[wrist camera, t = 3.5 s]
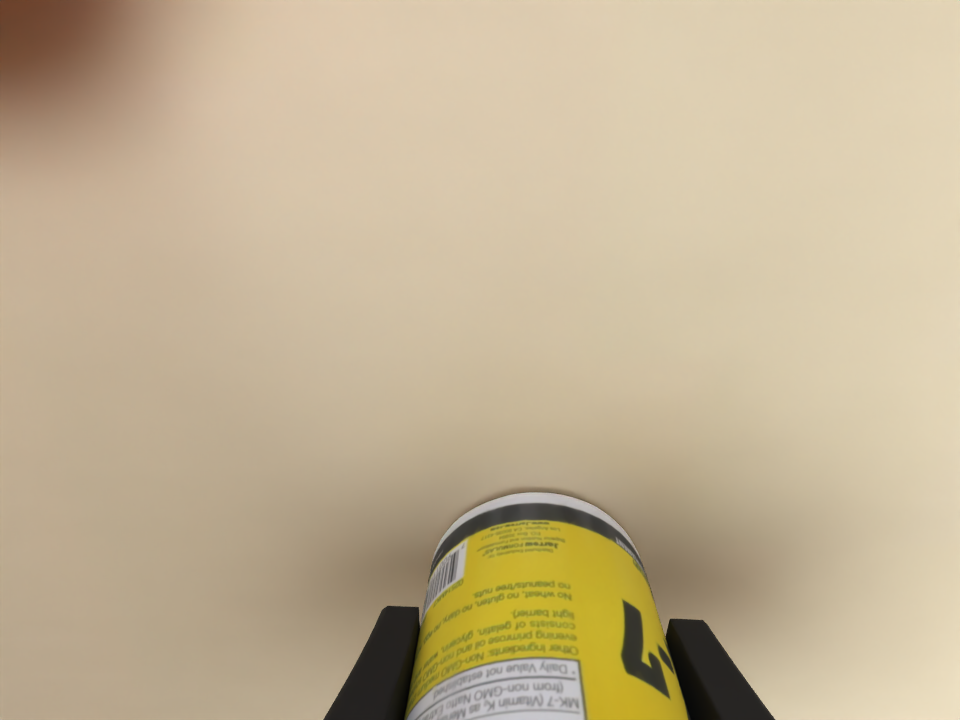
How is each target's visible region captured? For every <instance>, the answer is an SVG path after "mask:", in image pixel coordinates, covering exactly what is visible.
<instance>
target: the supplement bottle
mask: <svg viewBox="0 0 960 720" xmlns="http://www.w3.org/2000/svg"><path fill="white" fill-rule="evenodd" d="M404 720H691V718H690V715H689V712H688V710H687V706H686V703H685V699H684V696H683V693H682V690H681V687H680V684H679V680H678V676H677V672H676V669H675V666H674V663H673V660H672V657H671V653H670V650H669V648H668V645H667V641H666V638H665V635H664V632H663V629H662V625H661V622H660V619H659V616H658V612H657V609H656V606H655V603H654V599H653V595H652V591H651V588H650V585H649V582H648V579H647V576H646V573H645V570H644V567H643V565H642V562H641V559H640V556H639V554H638V552H637V549H636V547H635V546H634V544H633V542H632V541H631V539H630V537H629V536H628V534H627V533H626V532H625V531H624V530H623V528H622V527H621V526H620V525H619V524H618V523H617V522H616V521H615V520H614V519H613V518H612V517H610V516H609V515H607V514H606V513H605V512H603V511H602V510H600V509H599V508H597V507H595V506H593V505H591V504H589V503H587V502H585V501H582V500H579V499H577V498H573V497H569V496H566V495H560V494H554V493H544V492H527V493H519V494H512V495H508V496H504V497H500V498H497V499H494V500H491V501H489V502H486V503H484V504H482V505H479V506H477V507H476V508H474V509H472V510H470V511H468V512H467V513H465V514H464V515H463V516H461V517H460V518H459V519H457V520H456V521H455V522H454V523H453V525H452V526H451V527H450V528H449V529H448V530H447V531H446V532H445V534H444V535H443V537H442V539H441V540H440V542H439V544H438V546H437V549H436V551H435V554H434V557H433V561H432V565H431V570H430V576H429V580H428V588H427V593H426V599H425V603H424V608H423V614H422V620H421V625H420V633H419V637H418V642H417V648H416V654H415V661H414V667H413V672H412V678H411V684H410V689H409V695H408V701H407V706H406V712H405V717H404Z"/></svg>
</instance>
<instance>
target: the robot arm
mask: <svg viewBox="0 0 960 720" xmlns="http://www.w3.org/2000/svg"><path fill="white" fill-rule="evenodd" d="M419 633H420V621H419V607H402V606H387V607H385V608H384V609H383V610H382V611H381V613H380V616H379V618H378V620H377V622H376V625H375V627H374V629H373V631H372V633H371V635H370V637H369V639H368V641H367V643H366V645H365V647H364V649H363V651H362V653H361V655H360V657H359V658H358V660H357V662H356V664H355V666H354V668H353V669H352V671H351V673H350V675H349V677H348V679H347V680H346V682H345V684H344V686H343V687H342V689H341V691H340V692H339V694H338V696H337V697H336V699H335V701H334V703H333V704H332V706H331V708H330V709H329V711H328V713H327V714H326V716H325V718H324V720H404V717H405V712H406V706H407V701H408V695H409V689H410V684H411V678H412V672H413V667H414V661H415V654H416V648H417V642H418V637H419ZM666 641H667V645H668V648H669V650H670V653H671V657H672V660H673V663H674V666H675V669H676V672H677V676H678V680H679V684H680V687H681V690H682V693H683V696H684V699H685V703H686V706H687V710H688V712H689V715H690V718H691V720H775V719H774V717H773V716H772V715H771V713H770V712H769V711H768V709H767V708H766V707H765V705H764V704H763V703H762V701H761V700H760V699H759V697H758V696H757V694H756V693H755V692H754V690H753V689H752V688H751V686H750V685H749V683H748V682H747V681H746V679H745V678H744V677H743V675H742V674H741V672H740V671H739V670H738V668H737V667H736V665H735V664H734V662H733V661H732V660H731V658H730V657H729V655H728V654H727V652H726V651H725V650H724V648H723V647H722V645H721V644H720V642H719V641H718V640H717V638H716V637H715V635H714V634H713V632H712V631H711V629H710V628H709V626H708V625H707V624H706V623H705V622H704V621H703V620H688V619H670V621H669V625H668V629H667V634H666Z"/></svg>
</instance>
